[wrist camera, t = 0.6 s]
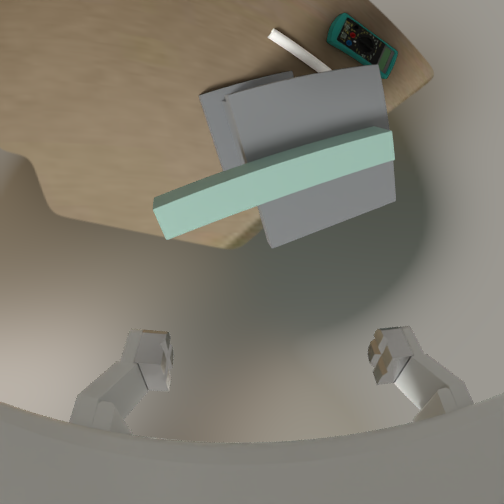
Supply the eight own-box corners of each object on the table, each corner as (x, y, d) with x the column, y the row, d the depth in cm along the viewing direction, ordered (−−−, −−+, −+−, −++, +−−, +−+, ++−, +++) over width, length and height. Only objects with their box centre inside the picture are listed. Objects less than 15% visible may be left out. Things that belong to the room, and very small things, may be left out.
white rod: (348, 85, 52) (354, 86, 50) (342, 94, 52) (349, 94, 50) (272, 29, 44) (276, 27, 42) (265, 38, 44) (270, 36, 42)
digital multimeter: (336, 12, 44) (344, 9, 41) (392, 52, 50) (401, 52, 47) (322, 40, 46) (329, 39, 44) (380, 79, 52) (389, 80, 50)
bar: (166, 226, 29) (166, 240, 26) (153, 197, 27) (152, 209, 25) (377, 152, 31) (394, 159, 28) (374, 126, 29) (391, 130, 26)
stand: (226, 180, 55) (272, 248, 33) (198, 95, 46) (227, 95, 24) (307, 153, 56) (395, 200, 34) (287, 71, 48) (378, 64, 26)
